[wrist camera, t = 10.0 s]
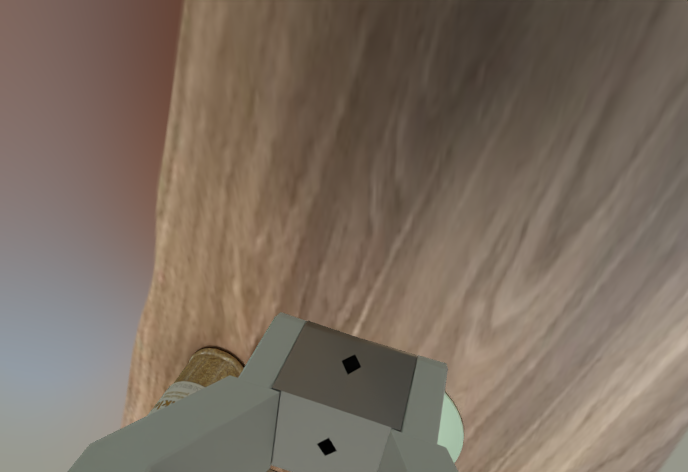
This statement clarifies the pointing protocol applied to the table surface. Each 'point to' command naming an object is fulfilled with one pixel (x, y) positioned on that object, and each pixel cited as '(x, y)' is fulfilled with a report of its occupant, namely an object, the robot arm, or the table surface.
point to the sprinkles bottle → (200, 375)
